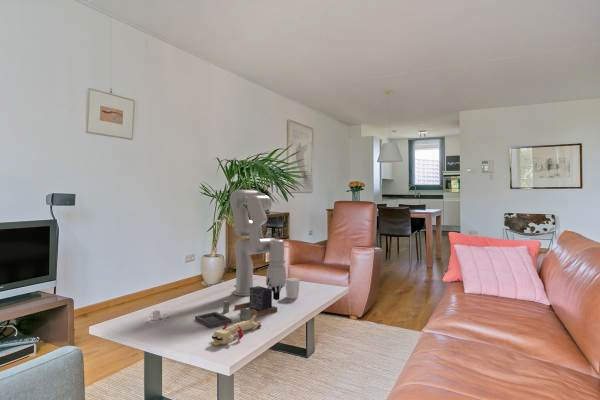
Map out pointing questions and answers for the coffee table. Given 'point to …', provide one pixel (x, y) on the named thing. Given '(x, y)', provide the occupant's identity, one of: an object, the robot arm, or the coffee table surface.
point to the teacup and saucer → (157, 316)
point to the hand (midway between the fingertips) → (276, 299)
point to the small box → (260, 298)
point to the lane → (244, 311)
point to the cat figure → (234, 330)
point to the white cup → (292, 288)
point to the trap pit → (213, 319)
